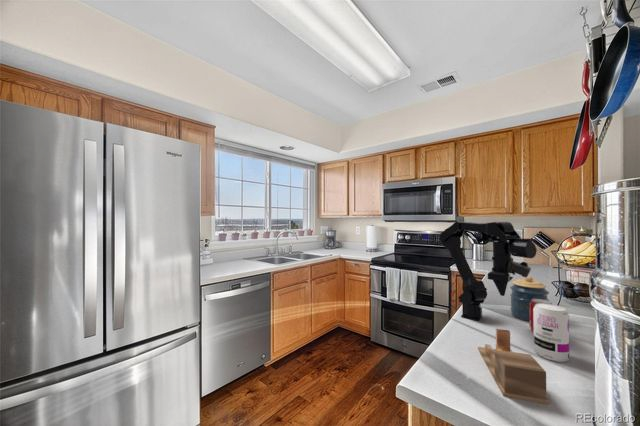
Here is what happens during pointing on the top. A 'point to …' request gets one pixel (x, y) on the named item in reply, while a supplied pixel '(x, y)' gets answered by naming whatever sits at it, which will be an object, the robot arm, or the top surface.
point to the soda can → (532, 305)
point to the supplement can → (551, 332)
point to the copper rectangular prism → (502, 340)
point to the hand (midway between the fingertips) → (502, 295)
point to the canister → (526, 296)
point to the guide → (516, 374)
